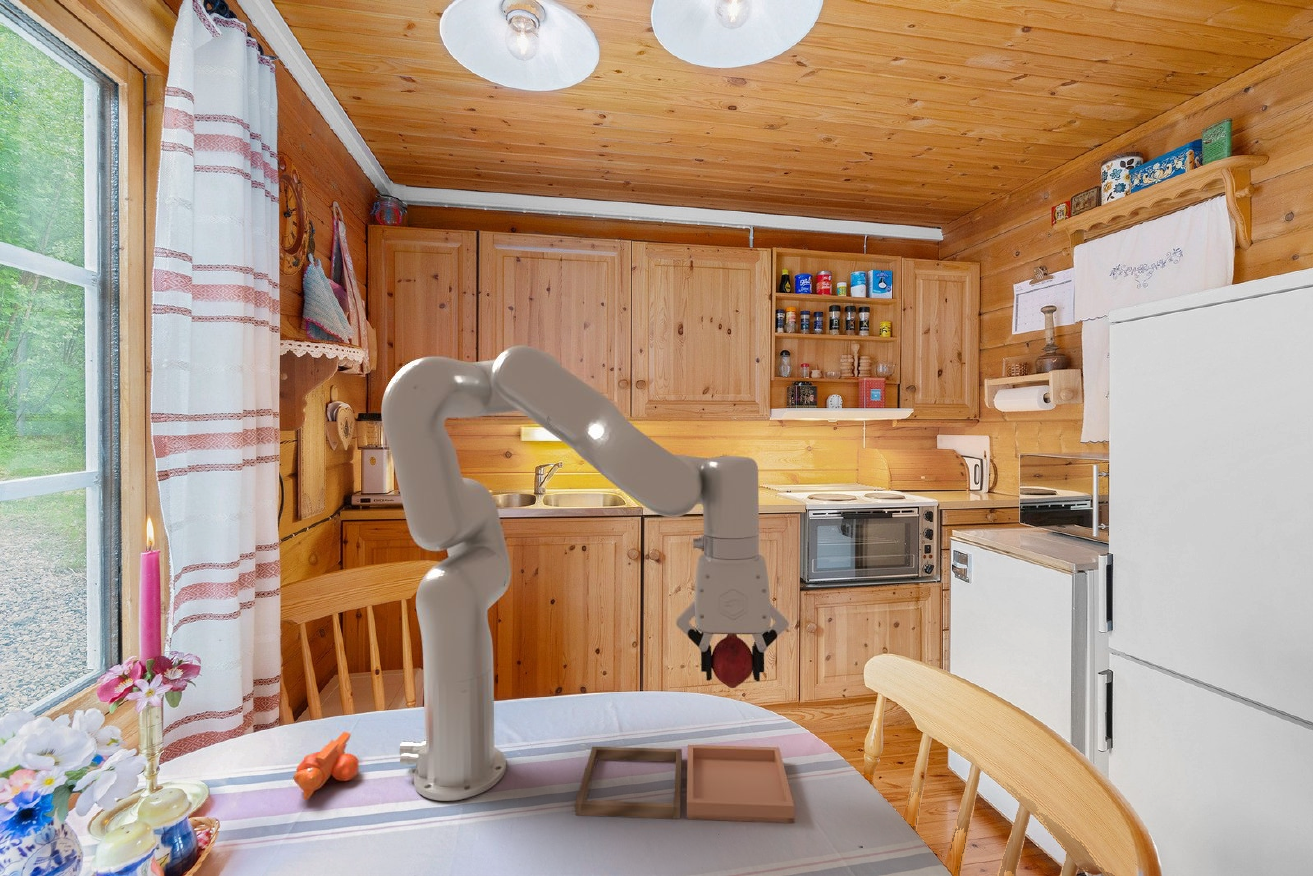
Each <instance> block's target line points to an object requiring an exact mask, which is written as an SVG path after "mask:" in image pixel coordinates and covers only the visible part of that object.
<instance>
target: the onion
mask: <svg viewBox="0 0 1313 876" xmlns="http://www.w3.org/2000/svg"><path fill="white" fill-rule="evenodd" d="M711 653H712V671H713V673H714V675H715V677H716V678H717V679H718V681H720V682H721V683H722V684H724V685H725V686H727V687H728V688H730V689H735V688H737V687H739V686H741V684H742V683H744V682H745V681H746V680H747V679H748V678H749V677H750V676H751V674H753V672H752V669H753V656H752V649H750V647H749V646H748V644H747V643H746V642H745V641H744V640H743V639H741V638H740V637H739V636H738V634H726V636H725V637H724V638H722V639H721V640H719V641H718V642H717V643H716V645H715V646H714V648H713V650H712V652H711Z"/></svg>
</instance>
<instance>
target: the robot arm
mask: <svg viewBox="0 0 1313 876" xmlns="http://www.w3.org/2000/svg"><path fill="white" fill-rule="evenodd" d="M518 411H519V412H520V413H522V414H523V415H524V416H525V417H527V418H529V419H531V420H532V421H533V422H535V423H536V424H538V425H539V426H540V427H542V428H544V430H546V431H547V432H549V433H550V434H552V435H553V436H555V437H556V438H557V439H559V440H560V441H561V442H563V443H564V444H566V445H567V446H569V447H570V449H572V450H574V451H575V452H576V453H577V455H579V457H581V459H583V460H584V461H585V462H587V463H588V464H589V465H590V466H592V467H593V468H594V469H595V470H596V471H597V472H598V473H599V474H600V475H602V476H603V477H604V478H605V479H607V481H609V482H610V483H612V485H614V486H616V487H617V488H618V489H620V490H621V491H623V492H624V493H625V494H627V495H628V496H629V497H631V498H632V499H634V500H635V501H637V502H638V503H640V504H641V505H642V506H644V507H645V508H647V509H648V510H650V511H651V512H653V513H655V514H657V515H659V516H662V517H666V518H667V517H668V518H677V517H681V516H685V515H686V514H688V513H689V512H691V511H693V509H694V508H695V507H696V505H697V506H698V505H701V506H702V508H703V509H702V512H703V513H702V515H703V516H702V517H703V519H702V520H703V522H702V523H703V525H702V527H703V528H702V529H703V535H701V537H698V538H693V541H692V543H693V544H692V545H693V547H692V548H693V549H698V550H701V552H703V553H702V554H700V555H699V556H698V560H697V566H696V573H695V583H694V588H695V589H694V600H693V602H691V604H690V605H689V606H688V607H686V608H685V610H684V611H683V612H682V613H681V614H680V615H679V616H678V617H677V618H676V621H675V622H676V623H675V624H676V626H677V628H678V629H680V630H681V632H683V634H685V635H686V636H687V637H688V638H689V640H690V641H691V642H693V643H694V644H695V645H696V646H697V647H698V649H699V651H700V667H701V668H700V672H701V673H703V672H704V673H705V675H706V677H705V678H706V681H711V680H712V679H713V678H712V677H713V676H712V675H713V674H712V673H713V672H712V671H713V669H712V653H713V652H712V645H710V644H711V641H712V638H713V636H714V635H728V634H736V635H752V637H753V638H752V639H753V641H754V642H753V645H752V646H751V652H752V656H753V669H752V675H753V680H754V681H755V682H760V681H761V679H760V677H761V676H760V674H761V673H765V652H766V651H767V649H768V647H769V646H770V645H772V644H773V643H774V641H776V639H777V638H778V637H779V636H780V635H781V634H782V633H783V632H784V631H786V630H787V629H788V627H789V622H788V620H787V618H786V617H785V616H784V615H783V614H782V613H781V612H780V611H779V610H778V609H777V608H776V607H775V606H774V605H773V604H772V602H771V598H770V593H771V592H770V583H769V582H770V581H769V574H768V573H769V572H768V567H767V563H766V562H767V561H766V558H765V557H764V556H763V555H762V554H760V531H759V529H760V528H759V526H760V525H759V524H760V523H759V522H760V518H759V516H760V515H759V513H760V512H759V511H760V509H759V467H758V463H757V462H756V460H755V459H753V458H751V457H748V456H740V455H739V456H738V455H737V456H736V455H733V456H732V455H731V456H730V455H728V456H726V455H725V456H723V455H722V456H715V457H710V458H708V457H697V456H690V455H685V454H683V455H681V454H673V453H671V452H670V451H669V450H667V449H665V448H664V447H663V446H661V445H660V444H658V443H657V442H656V441H654V440H652V439H651V438H650V437H648V436H647V435H646V434H644V433H643V432H642V431H641V430H639V429H638V428H637V427H635V426H634V425H633V424H632V423H631V422H630V421H629V420H628V419H627V418H626V417H625V415H623V414H622V412H621V411H620V409H619V408H618V406H616V404H615V403H614V402H612V400H610V399H609V398H608V397H606V396H605V395H603V393H601V392H599V391H598V390H597V389H595V388H594V387H592V386H590V385H589V384H588V383H586V382H585V381H584V380H582V379H580V378H579V377H578V376H575V374H573V373H572V372H571V371H569V370H567V369H566V368H565V367H563V366H562V364H561V362H560V361H559V360H558V359H557V358H556V357H555V356H553V355H552V354H550V353H549V352H546V351H544V350H541V349H538V348H535V347H533V346H529V345H523V344H522V345H515V346H511V347H509V348H507V349H505V350H504V351H502V352H501V353H500V354H499V355H498V356H497V357H496V358H495V359H490V360H484V361H475V362H474V361H473V362H468V361H462V360H460V359H455V358H450V357H446V356H426V357H421V358H418V359H415V360H413V361H410V362H409V363H407V364H406V365H404V366H403V367H402V368H400V369H399V371H397V372H396V373H395V375H394V376H393V377H392V378H391V380H390V381H389V383H388V385H387V386H386V389H385V391H384V393H383V397H382V403H381V422H382V427H383V432H384V435H385V438H386V441H387V445H388V449H389V452H390V455H391V458H392V463H393V467H394V472H395V478H396V482H397V484H398V485H397V487H398V490H399V494H400V498H401V502H402V506H403V511H404V514H405V519H406V523H407V527H408V530H409V534H410V535H411V537H412V539H413V541H414V542H415V544H417V545H418V547H419V548H422V549H423V550H426V551H430V552H431V551H432V552H440V551H445V550H446V552H447V556H448V557H446V558H445V559H443V560H441V561H440V562H438V563H437V564H435V565H434V566H432V567H431V568H430V569H429V570H428V571H427V572H426V574H425V575H424V576H423V577H422V579H421V581H420V583H419V585H418V587H417V590H416V596H415V609H416V614H417V620H418V624H419V629H420V635H421V644H422V661H423V662H422V664H423V665H422V666H423V668H422V669H423V696H424V697H423V699H424V700H423V701H424V702H423V705H424V709H423V711H424V740H423V741H422V742H419V741H417V742H416V741H409V740H408V741H402V742H401V743H400V746H399V756H400V758H399V763H400V765H411V764H412V765H415V766H416V767H417V768H416V769H415V772H414V775H413V785H414V789H415V790H416V791H417V793H419V795H422V796H423V797H424V798H427V799H430V800H434V801H439V802H441V801H442V802H446V801H447V802H450V801H458V800H463V799H464V800H465V799H468V798H472V797H474V796H477V795H480V794H482V793H485V792H486V791H488V790H489V789H491V788H492V787H493V786H494V785H496V784H497V783H498V782H499V781H500V780H501V779H502V778H503V776H504V775H505V773H506V768H507V767H506V766H507V763H506V762H507V760H506V759H507V758H506V756H505V755H504V753H503V752H502V751H501V750H500V749H499V748H497V747H495V697H494V696H495V695H494V693H495V692H494V689H495V688H494V685H495V684H494V647H493V638H492V633H491V629H490V625H489V620H488V612H489V611H488V610H489V609H490V608H491V607H492V606H493V605H494V604H495V603H496V602H497V601H498V600H499V599H500V598H501V597H502V596H503V595H504V594H505V593H506V592H507V590H508V588H509V586H510V583H511V578H512V566H511V560H510V556H509V551H508V548H507V542H506V540H505V534H504V530H503V527H502V524H501V523H502V522H501V519H500V514H499V511H498V507H497V504H496V500H495V499H494V497H493V495H492V493H491V492H490V491H489V489H488V488H487V487H486V486H485V485H484V484H483V483H481V482H479V481H477V480H475V479H473V478H468V477H463V476H462V475H463V474H462V471H461V469H460V468H461V467H460V465H459V459H458V454H457V451H456V448H455V446H454V443H453V440H452V439H451V437H450V435H449V433H448V432H447V429H446V425H445V421H446V420H447V419H450V418H451V419H452V418H453V419H454V418H455V419H456V418H459V419H460V418H461V419H464V418H465V419H467V418H477V417H478V418H479V417H483V416H491V415H497V414H506V413H512V412H513V413H514V412H518ZM693 618H694V622H695V624H694V625H695V626H694V625H692V624H691V623H690V621H691V620H692V619H693ZM771 619H772V620H773V621H774V623H773V624H772V626H771Z"/></svg>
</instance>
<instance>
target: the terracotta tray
mask: <svg viewBox="0 0 1313 876" xmlns="http://www.w3.org/2000/svg"><path fill="white" fill-rule="evenodd" d="M686 764H687V766H686V768H687V774H686V820H703V821H704V820H705V821H731V822H755V823H757V822H758V823H759V822H760V823H761V822H762V823H783V824H784V823H786V824H787V823H788V824H794V823H795V804H794V800H793V796H792V793H791V789H790V784H789V781H788V778H787V773H786V769H785V766H784V761H783V757H782V753H781V749H780V747H779V746H750V745H749V746H747V745H746V746H745V745H743V746H742V745H714V744H713V745H712V744H711V745H708V744H688V745H687V763H686Z"/></svg>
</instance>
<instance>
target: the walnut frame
mask: <svg viewBox="0 0 1313 876" xmlns="http://www.w3.org/2000/svg"><path fill="white" fill-rule="evenodd" d="M597 760H606V761H607V760H608V761H609V760H610V761H611V760H612V761H640V762H641V761H645V762H674V763H675V769H674V770H675V772H674V773H675V774H674V775H675V777H674V788H673V789H674V792H673V794H674V795H673V802H652V801H651V802H646V801H622V800H589V799H588V800H587V795H588V793H589V792H588V791H589V789H590V785H591V781H592V778H593V774H594V771H595V767H596V764H597ZM682 765H683V749H681V748H662V747H661V748H660V747H659V748H654V747H625V746H623V747H622V746H619V747H618V746H595V745H593V746H592V747H591V750H590V753H589V757H588V759H587V763H586V766H585V769H584V773H583V776H582V780H581V783H580V786H579V789H578V792H577V796H576V798H575V802H574V815H575V816H589V817H590V816H591V817H592V816H593V817H623V818H645V819H646V818H649V819H650V818H651V819H670V820H671V819H674V820H675V819H676V820H680V819H681V800H682V799H681V797H682V795H681V793H682V768H683V767H682Z"/></svg>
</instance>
